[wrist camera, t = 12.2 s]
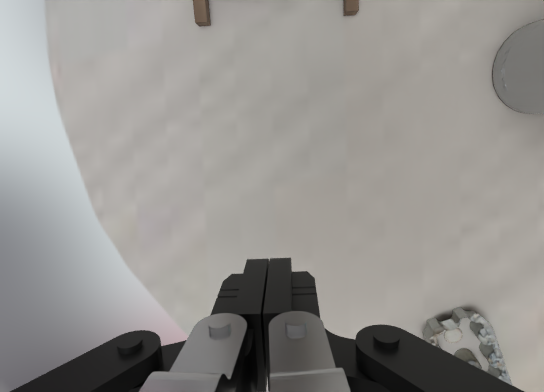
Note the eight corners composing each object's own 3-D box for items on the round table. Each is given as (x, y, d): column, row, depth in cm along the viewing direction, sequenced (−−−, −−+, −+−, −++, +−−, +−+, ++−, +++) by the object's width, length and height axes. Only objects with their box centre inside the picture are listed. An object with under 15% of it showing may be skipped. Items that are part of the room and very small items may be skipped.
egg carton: (415, 319, 47) (427, 339, 43) (474, 298, 46) (491, 317, 42) (442, 387, 49) (455, 411, 45) (499, 368, 48) (518, 392, 44)
